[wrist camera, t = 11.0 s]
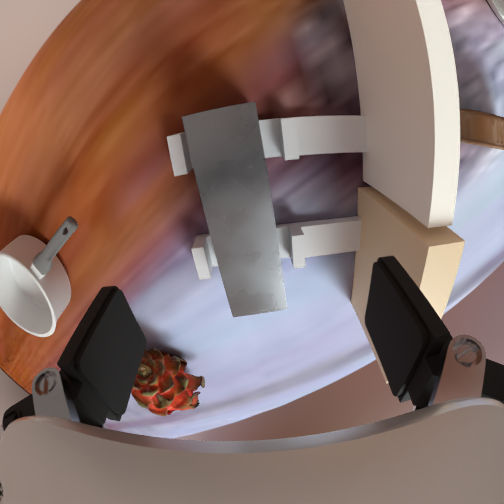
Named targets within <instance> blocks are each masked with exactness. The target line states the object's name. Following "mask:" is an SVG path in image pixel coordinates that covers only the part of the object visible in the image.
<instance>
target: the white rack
mask: <svg viewBox="0 0 504 504" xmlns="http://www.w3.org/2000/svg"><path fill="white" fill-rule="evenodd" d="M343 2H344V7H345V11H346V15H347V20H348V25H349V30H350V35H351V41H352V47H353V53H354V59H355V66H356V74H357V82H358V91H359V101H360V113H361V116H358V115H332V116H304V117H288V118H276V119H266V120H259V126H260V132H261V137H262V143H263V149H264V155H265V158H269V157H278V156H282V157H283V158H284V159H285V160H293V159H299V155H311V154H327V153H349V152H363V181H364V182H366V183H367V184H369V185H370V186H372V187H358V212H357V216H354V217H344V218H334V219H325V220H316V221H307V222H298V223H289V224H281V225H276V231H277V238H278V245H279V252H280V258H288V257H290V258H291V261H292V265H293V268H301V267H305V258H306V257H314V256H322V255H329V254H337V253H345V252H352V251H356V254H355V267H354V278H353V288H352V297H351V304H352V306H353V308H354V310H355V312H356V314H357V316H358V318H359V321H360V323H361V325H362V327H363V329H364V332H365V334H366V336H367V338H368V341H369V343H370V345H371V348H372V350H373V352H374V355H375V357H376V359H377V362H378V364H379V366H380V369H381V371H382V374H383V376H384V379H385V381H386V383H388V380H387V377H386V375H385V372H384V370H383V367H382V365H381V362H380V359H379V357H378V355H377V352H376V350H375V347H374V345H373V342H372V340H371V338H370V335H369V333H368V331H367V328H366V326H365V312H366V307H367V301H368V295H369V288H370V282H371V275H372V267H373V263H374V262H377V259H378V258H379V257H385V256H394V257H395V258H396V259H397V260H398V261H399V263H400V264H401V265H402V266H403V268H404V269H405V270H406V272H407V273H408V274H409V275H410V277H411V278H412V279H413V281H414V282H415V283H416V285H417V286H418V287H419V289H420V290H421V291H422V293H423V294H424V296H425V297H426V298H427V300H428V301H429V303H430V304H431V305H432V307H433V308H434V310H435V311H436V313H437V314H438V316H439V317H440V319H441V318H442V316H443V313H444V310H445V308H446V305H447V302H448V299H449V296H450V293H451V290H452V287H453V284H454V281H455V277H456V274H457V271H458V267H459V263H460V260H461V256H462V252H463V248H464V243H465V241H464V240H463V239H462V238H461V237H459V236H458V235H457V234H456V233H454V232H453V231H452V230H450V229H449V228H448V227H447V226H450V225H452V222H453V216H454V209H455V202H456V194H457V185H458V174H459V159H460V108H459V93H458V82H457V74H456V66H455V60H454V54H453V48H452V43H451V38H450V33H449V29H448V25H447V21H446V17H445V13H444V10H443V6H442V3H441V0H343ZM167 142H168V147H169V152H170V157H171V162H172V167H173V172H174V176H179V175H184V174H188V173H189V172H190V171H191V170H192V169H193V164H192V160H191V156H190V152H189V147H188V143H187V138H186V134H185V132H182V133H178V134H174V135H171V136H168V137H167ZM191 249H192V253H193V257H194V261H195V265H196V268H197V272H198V276H199V279H209V278H211V275H212V269H213V266H218V263H217V259H216V255H215V252H214V248H213V244H212V240H211V237H210V234H203V235H196V237H195V240H194V243H193V246H192V248H191Z"/></svg>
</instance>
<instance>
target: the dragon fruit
mask: <svg viewBox="0 0 504 504" xmlns="http://www.w3.org/2000/svg"><path fill="white" fill-rule="evenodd" d="M186 365H187V362H186V361H185V360H184V359H182V358H178V357H177V356H175V355H174V357H170V356H169V354H168V353H166V352H164V351H162V350H158V349H156V348H151V349H150V350H148V351H146V350H145V351H144V354H143V357H142V360H141V363H140V366H139V369H138V372H137V375H136V378H135V381H134V384H133V388H132V391H131V392H132V396H133V397H134V399H135V400H136V401H137V403H138V404H139V405H140V406H141V407H144V408H146V409H147V408H148V410H149V411H151V412H152V413H154V414H157V415H161V416H166V414H167V415H170V414H171V413H172V412H173V411H174V410H187V409H195V408H196V407H197V406H199V405H198V404H199V403H198V402H199V400H198V394H200V392H195V393H194V394H193V391H196V390H197V389H198V387H199V386H200V385H201V386H202V387H203V388H204V387H205V380H204V377H203V376H200V377H196V376H193V375H190V374H187V373H184V370H185V367H186Z"/></svg>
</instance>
